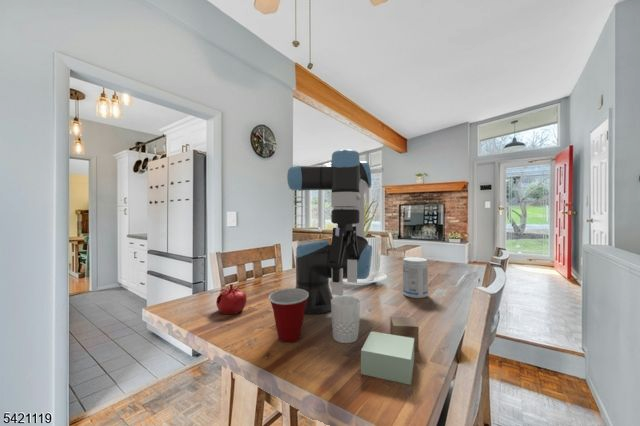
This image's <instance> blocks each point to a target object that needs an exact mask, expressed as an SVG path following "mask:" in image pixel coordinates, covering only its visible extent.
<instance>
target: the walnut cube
mask: <svg viewBox="0 0 640 426" xmlns="http://www.w3.org/2000/svg"><path fill="white" fill-rule="evenodd" d="M389 317H390V319H389V320H390V322H389V323H390V327H389V328H390V329H389V330H390V333H389V334H391V335H397V336H403V337H410V338H414V352H416V351H417V352H419V345H420V344H419V342H420V341H419V339H420V338H419V333H420V332H419V325H418V323H417V321H416V319H415V317H412V316H411V317H409V316H389Z"/></svg>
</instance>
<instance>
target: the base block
mask: <svg viewBox="0 0 640 426" xmlns="http://www.w3.org/2000/svg"><path fill="white" fill-rule="evenodd" d="M414 366H415V351H414V338H410V337H403V336H397V335H391V334H390V333H383V332H379V331H378V332H377V331H370V333H369V334H368V336H367V338H366V340H365V341H364V344H363V346H362V348H361V349H360V375H365V376H367V377H368V376H369V377H373V378H377V379H382V380H386V381H387V380H388V381H392V382H397V383H399V384H405V385H409V386H412V381H413V380H412V379H413V371H414Z"/></svg>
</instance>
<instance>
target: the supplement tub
mask: <svg viewBox="0 0 640 426" xmlns="http://www.w3.org/2000/svg"><path fill="white" fill-rule="evenodd" d="M428 268H429V265H428V259H426V258H423V257H416V256H415V257H414V256H413V257H411V256H409V257H404V258H402V293H403V295H404V296H405V297H408V298H412V299H413V298H414V299H424V298H426V297H428V295H429V277H428V276H429V274H428V272H429V270H428Z"/></svg>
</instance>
